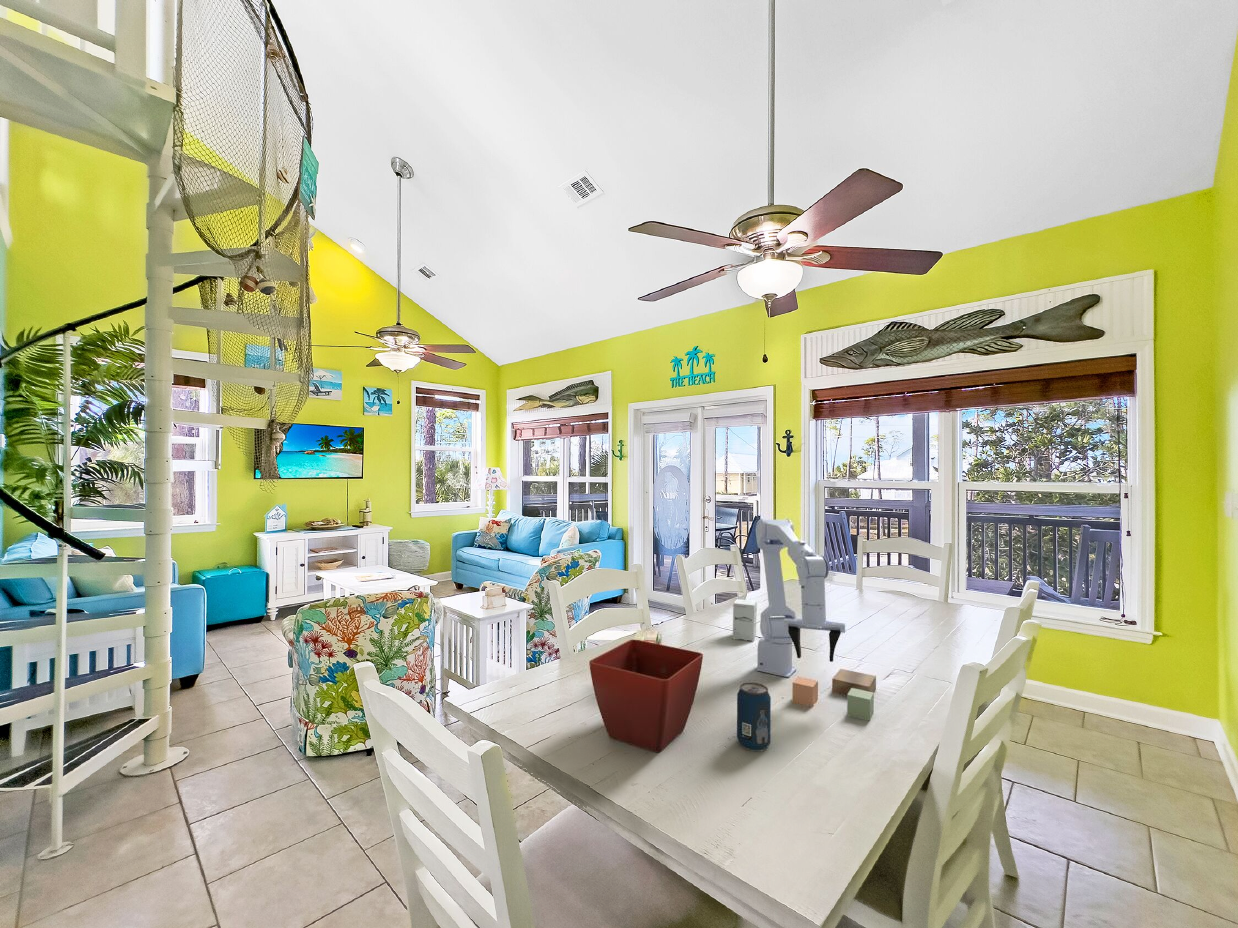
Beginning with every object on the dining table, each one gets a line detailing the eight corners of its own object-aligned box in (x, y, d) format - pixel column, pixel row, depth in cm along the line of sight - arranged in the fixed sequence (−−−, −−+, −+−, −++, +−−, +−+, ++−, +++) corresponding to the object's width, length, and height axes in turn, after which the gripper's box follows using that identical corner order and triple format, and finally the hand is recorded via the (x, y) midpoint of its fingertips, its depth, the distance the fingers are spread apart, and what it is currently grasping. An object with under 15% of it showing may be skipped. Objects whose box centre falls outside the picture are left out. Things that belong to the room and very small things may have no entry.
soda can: (745, 733, 120) (746, 678, 120) (775, 743, 116) (776, 686, 116) (730, 745, 115) (731, 688, 115) (761, 756, 110) (762, 697, 111)
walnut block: (832, 693, 143) (832, 678, 143) (840, 683, 151) (840, 668, 151) (869, 702, 138) (869, 686, 138) (875, 691, 145) (875, 676, 145)
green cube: (847, 715, 130) (847, 694, 130) (851, 708, 134) (851, 687, 134) (870, 721, 127) (870, 699, 127) (873, 713, 131) (873, 692, 131)
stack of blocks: (641, 661, 166) (641, 621, 166) (661, 663, 165) (662, 622, 165) (630, 688, 145) (630, 642, 145) (653, 690, 144) (653, 643, 144)
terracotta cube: (792, 702, 137) (792, 682, 137) (798, 695, 141) (798, 676, 141) (812, 707, 134) (812, 687, 134) (817, 700, 138) (818, 680, 138)
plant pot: (665, 766, 106) (666, 679, 107) (586, 740, 117) (586, 661, 117) (704, 728, 123) (704, 653, 123) (631, 708, 133) (632, 638, 133)
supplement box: (732, 639, 188) (732, 602, 189) (735, 633, 195) (736, 598, 195) (753, 642, 186) (754, 605, 186) (756, 636, 192) (757, 600, 193)
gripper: (781, 604, 138) (782, 659, 136) (843, 608, 131) (845, 666, 130) (785, 600, 144) (787, 653, 143) (844, 604, 138) (847, 659, 136)
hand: (815, 659), depth 137 cm, fingers open, 7 cm apart
